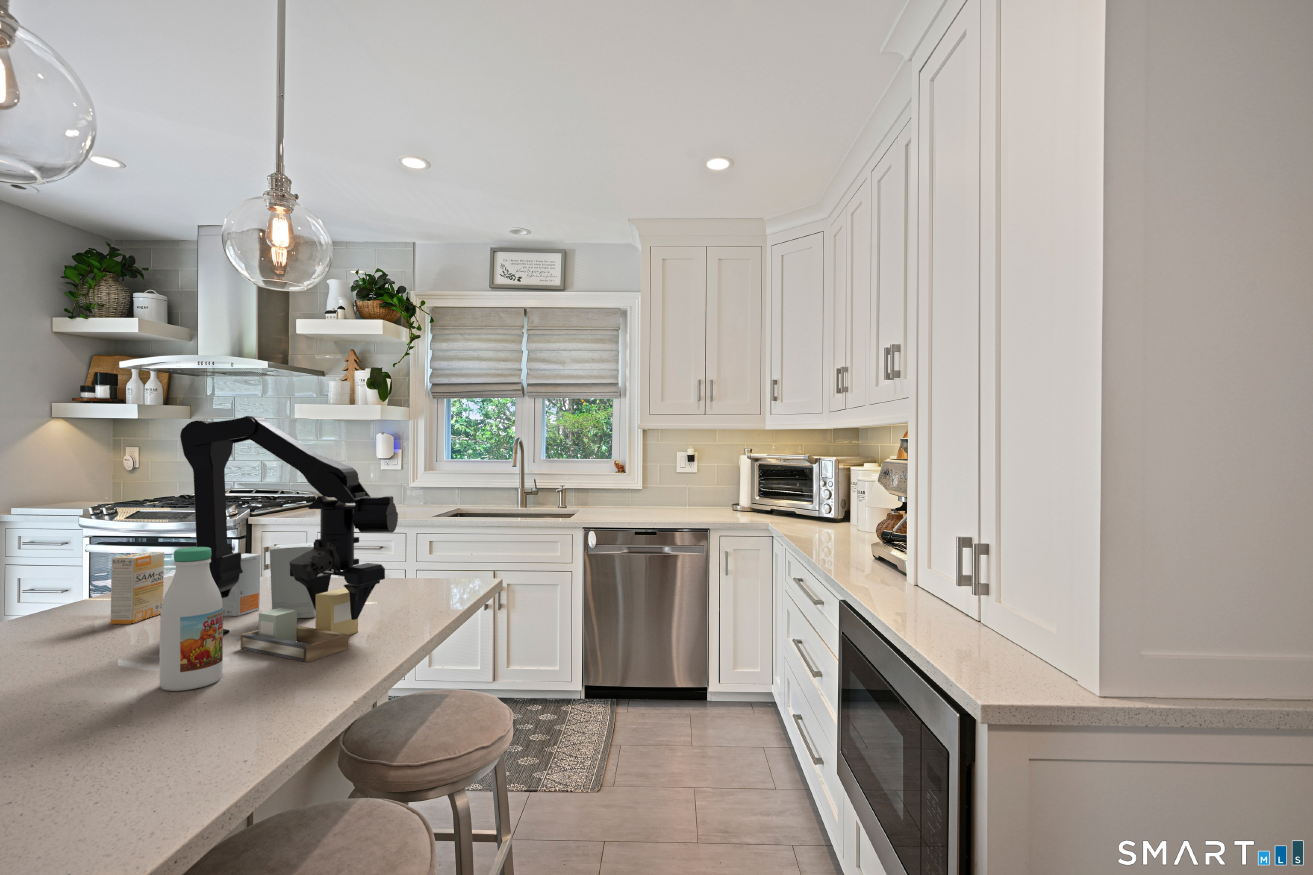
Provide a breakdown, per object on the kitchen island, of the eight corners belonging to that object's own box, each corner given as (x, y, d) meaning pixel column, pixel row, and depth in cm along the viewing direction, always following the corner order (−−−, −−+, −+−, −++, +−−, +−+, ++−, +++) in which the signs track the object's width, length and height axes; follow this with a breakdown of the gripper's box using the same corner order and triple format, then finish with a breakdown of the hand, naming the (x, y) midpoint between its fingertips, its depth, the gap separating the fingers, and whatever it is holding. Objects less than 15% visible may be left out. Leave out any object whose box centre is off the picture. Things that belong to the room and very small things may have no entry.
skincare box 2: (322, 611, 142) (322, 541, 142) (314, 618, 136) (314, 545, 136) (278, 613, 140) (279, 542, 140) (268, 621, 134) (269, 546, 134)
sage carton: (258, 647, 117) (258, 612, 117) (279, 640, 121) (279, 607, 121) (275, 650, 115) (275, 615, 115) (296, 644, 119) (296, 610, 119)
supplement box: (133, 624, 131) (134, 557, 131) (109, 624, 131) (110, 557, 131) (165, 613, 140) (165, 551, 140) (142, 613, 140) (142, 550, 140)
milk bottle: (154, 695, 94) (155, 554, 94) (164, 678, 101) (166, 546, 101) (219, 686, 98) (220, 550, 98) (225, 670, 105) (226, 543, 105)
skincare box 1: (237, 616, 137) (238, 558, 137) (220, 615, 138) (220, 557, 138) (261, 609, 143) (261, 553, 143) (243, 608, 144) (244, 553, 144)
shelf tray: (239, 648, 116) (239, 634, 116) (283, 636, 123) (283, 623, 123) (306, 662, 109) (306, 647, 109) (348, 648, 116) (348, 634, 116)
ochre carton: (315, 637, 123) (315, 594, 123) (342, 629, 128) (342, 587, 128) (331, 640, 121) (331, 596, 121) (358, 632, 126) (358, 589, 126)
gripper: (263, 535, 121) (262, 621, 121) (336, 541, 114) (335, 633, 113) (316, 528, 131) (316, 607, 131) (387, 533, 124) (386, 618, 124)
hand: (336, 616), depth 125 cm, fingers open, 9 cm apart
